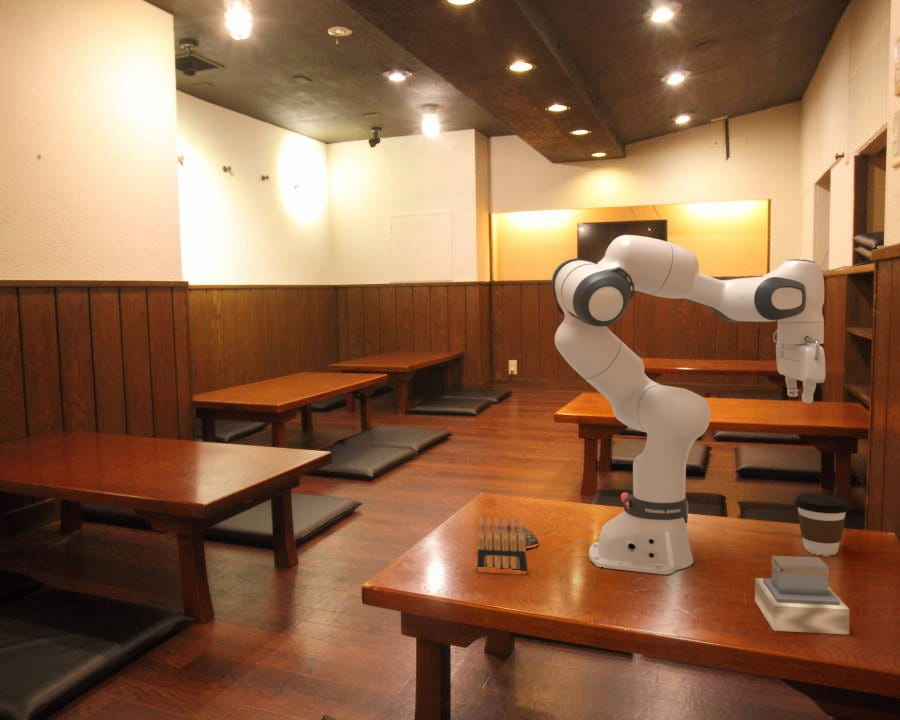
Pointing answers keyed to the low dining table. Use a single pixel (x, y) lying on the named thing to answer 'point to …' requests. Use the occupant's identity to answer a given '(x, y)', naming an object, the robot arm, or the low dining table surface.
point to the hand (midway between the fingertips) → (799, 399)
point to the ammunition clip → (504, 555)
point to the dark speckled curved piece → (529, 536)
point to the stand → (801, 610)
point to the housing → (800, 575)
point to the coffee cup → (821, 522)
